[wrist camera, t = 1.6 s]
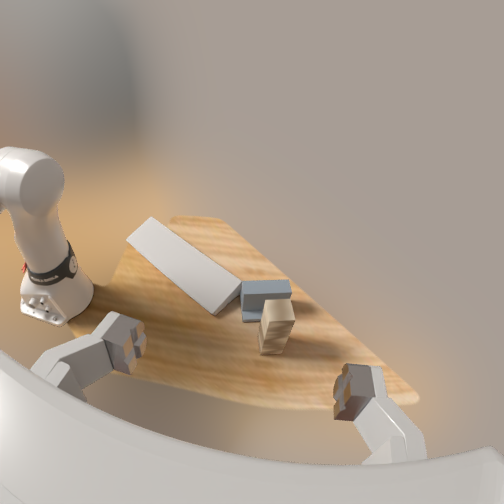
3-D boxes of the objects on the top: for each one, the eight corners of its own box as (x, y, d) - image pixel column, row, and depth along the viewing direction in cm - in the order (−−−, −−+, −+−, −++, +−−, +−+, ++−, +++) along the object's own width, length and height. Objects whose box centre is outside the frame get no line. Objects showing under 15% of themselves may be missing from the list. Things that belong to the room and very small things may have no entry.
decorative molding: (216, 321, 64) (244, 290, 68) (212, 314, 60) (242, 281, 64) (132, 249, 78) (156, 226, 81) (125, 239, 74) (151, 216, 77)
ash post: (260, 355, 55) (269, 321, 46) (257, 336, 58) (265, 299, 50) (281, 353, 56) (295, 319, 47) (278, 334, 59) (290, 298, 50)
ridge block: (242, 322, 61) (245, 303, 56) (239, 293, 66) (241, 273, 62) (287, 319, 62) (294, 300, 57) (281, 291, 68) (286, 271, 63)
